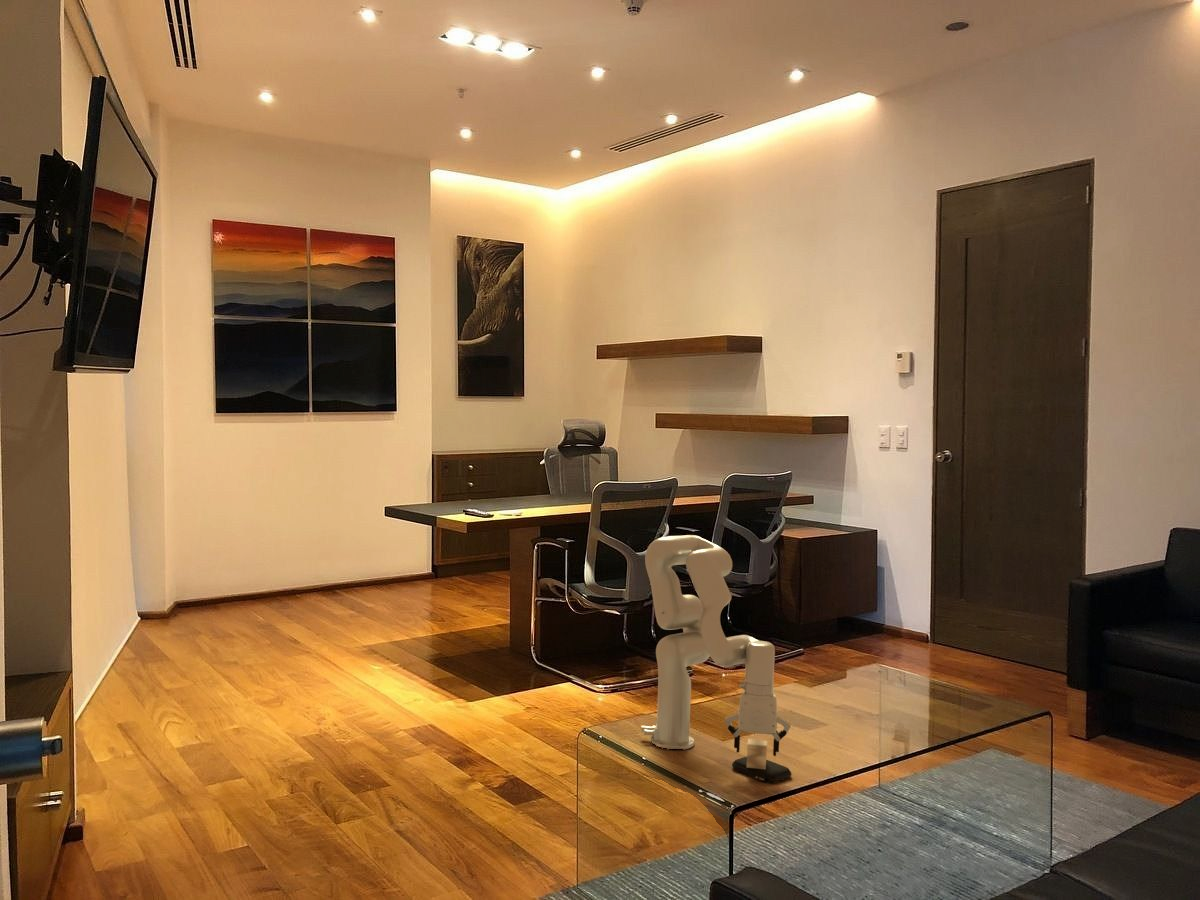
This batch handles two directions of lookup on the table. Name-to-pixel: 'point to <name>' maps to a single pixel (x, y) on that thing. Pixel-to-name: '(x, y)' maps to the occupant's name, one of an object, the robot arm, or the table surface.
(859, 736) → the table surface
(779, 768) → the carrying case or bag
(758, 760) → the birch block
